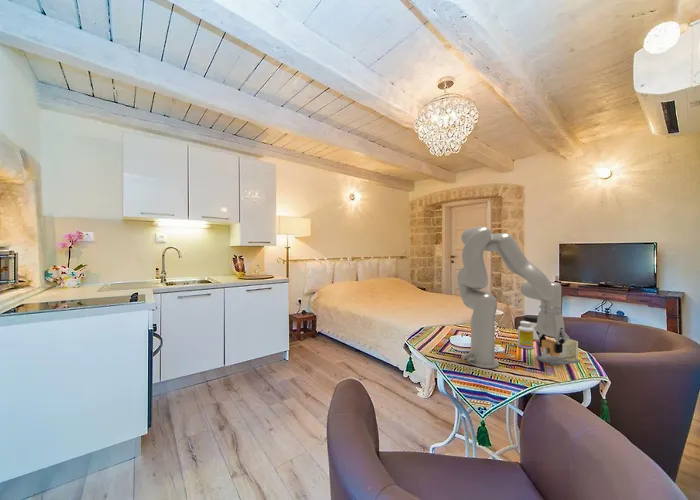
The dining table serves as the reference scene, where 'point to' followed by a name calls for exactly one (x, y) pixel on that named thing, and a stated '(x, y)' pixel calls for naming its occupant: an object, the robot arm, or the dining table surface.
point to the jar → (532, 324)
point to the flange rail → (561, 354)
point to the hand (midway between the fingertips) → (550, 349)
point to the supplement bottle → (525, 335)
